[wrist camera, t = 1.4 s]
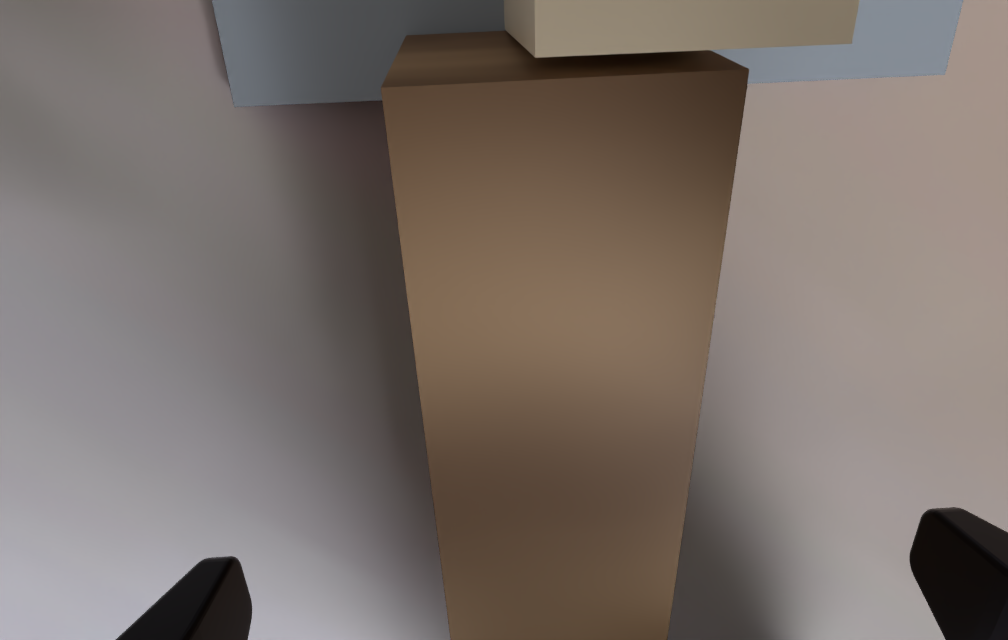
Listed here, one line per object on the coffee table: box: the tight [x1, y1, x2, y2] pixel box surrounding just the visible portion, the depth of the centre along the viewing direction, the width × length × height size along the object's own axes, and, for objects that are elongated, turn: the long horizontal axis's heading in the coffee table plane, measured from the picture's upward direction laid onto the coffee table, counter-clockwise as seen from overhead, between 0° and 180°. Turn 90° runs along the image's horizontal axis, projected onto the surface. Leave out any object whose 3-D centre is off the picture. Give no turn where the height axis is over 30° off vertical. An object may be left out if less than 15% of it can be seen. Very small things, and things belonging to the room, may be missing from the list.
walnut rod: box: [381, 31, 749, 640], centre depth 12 cm, size 12×4×4 cm, turn 2°
